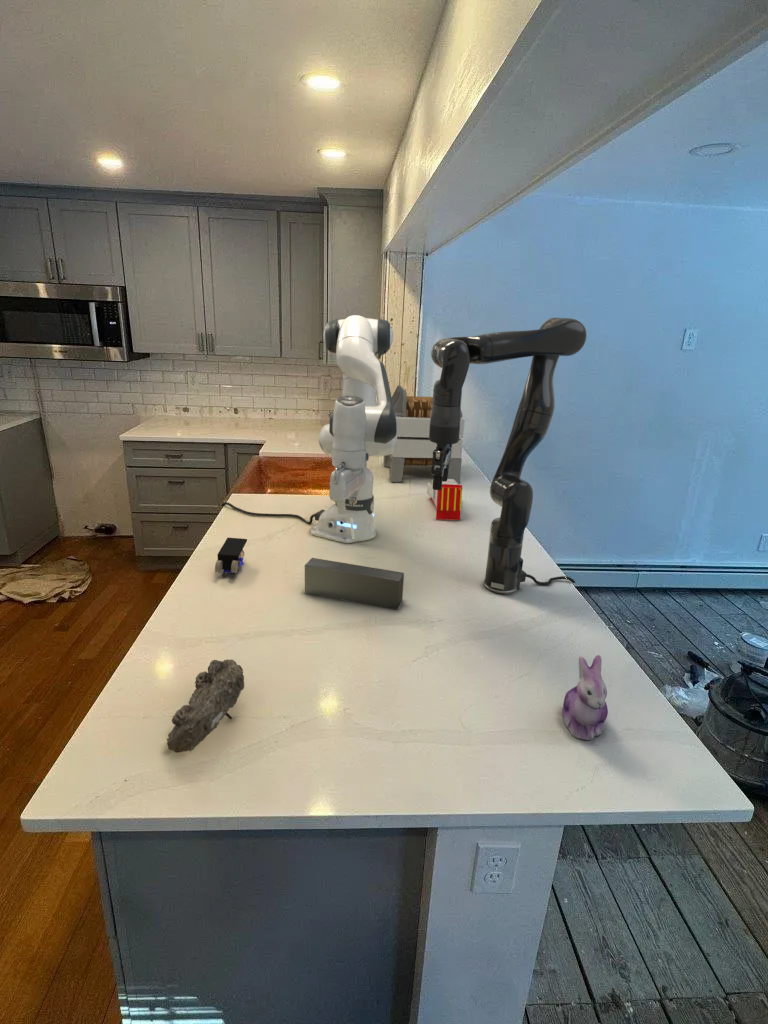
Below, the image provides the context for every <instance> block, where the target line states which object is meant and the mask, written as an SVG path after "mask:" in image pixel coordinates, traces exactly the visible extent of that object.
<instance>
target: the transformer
mask: <svg viewBox="0 0 768 1024" xmlns="http://www.w3.org/2000/svg"><path fill="white" fill-rule="evenodd" d="M407 394H408V393H407V390H406V389H404V388H403V387H402V385H399V384H398V385H397V386H396V388H395V390H394V392H393V394H392V395H391V397H392V402H393V407H394V410H395V414H396V417H397V421H398V430H397V434H396V435H397V445H396V448H395V450H394V451H393V452H392V453H391V454H390V455H385V456H383V466H384V467H388V468H389V475H388V476H389V477H388V478H389V480H390V482H391V483H402V482H403V475H404V469H405V466H406V467H407V466H411V467H412V466H413V467H415V466H416V467H417V466H418V467H431V466H432V461H433V451H434V449H436V447H437V444H436V443H433V442H431V441H430V440H429V430H430V415H431V409H432V404H433V403H432V401H433V396H415V395H414V396H413V395H412V396H411V395H407ZM464 429H465V419H464V418H463V411H461V422H460V433H459V441H458V443H456V444H452V454H451V463H450V466H449V467H448V479H454V480H455V481H456V482H457V483H458V484H459V483H461V472H462V461H463V460H462V453H463V442H464V441H463V440H462V439H463V438H464V431H465V430H464ZM436 469H437V470H440V468H438V467H437V468H436Z"/></svg>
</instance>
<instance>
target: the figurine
mask: <svg viewBox="0 0 768 1024" xmlns="http://www.w3.org/2000/svg"><path fill="white" fill-rule="evenodd" d="M602 663H603V660H602V656H601V655H600V654H597V655H595V657H594V658H593V660H592V663H591V664H590V665H589V664H588V662H587V660H586V659H585V658H584V657H583V656H578V674H579V680H578V682H577V685H576V686H574V687H572V688H571V689H569V690H568V691H567V692H566V693H565V696H564V699H563V703H562V704H563V706H562V710H561V714H562V715H561V716H562V721H563V724H564V725H565V727H566V728H567V729H568V730H569V732H570V734H571V735H572V736H573V737H574V738H577V739H581V740H584V741H585V740H587V741H589V740H590V741H591V740H593V739H594V737H599V736H600V735H601V734H602V732H603V729H604V726H605V725H604V724H605V722H606V721H607V718H608V714H609V711H608V710H609V709H608V705H607V701H606V700H607V696H608V690H607V686H606V683H605V680H604V679H603V677H602Z"/></svg>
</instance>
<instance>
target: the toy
mask: <svg viewBox="0 0 768 1024" xmlns="http://www.w3.org/2000/svg"><path fill="white" fill-rule="evenodd" d="M431 480H432V481H431V483H430V482H427V487H426V493H427V495H429V500H430V501H431V502H432V503H433V504H434V506H435V508H436V510H435V511H436V513H435V520H442V521H443V520H445V521H447V520H448V521H461V511H462V502H463V501H462V500H463V499H462V498H463V484H459V483H457V482H456V481H455V480H454V479H448V480H447V481H446V482H445V481H442V489H441V490H433V478H432V479H431Z"/></svg>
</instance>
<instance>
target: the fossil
mask: <svg viewBox="0 0 768 1024" xmlns="http://www.w3.org/2000/svg"><path fill="white" fill-rule="evenodd" d="M243 670H244V669H243V667H242V665H240V664H237V662H236V661H235V660H234V659H232V658H231V659H227V658H226V659H224V660H223V661H222V660H217V659H212V660H211V661H210V663H209V665H208V666H207V671H201V672H199V673H198V674H197V675H196V676H195V680H194V684H195V685H194V687H195V689H194V690H193V693H192V694H191V697H190V698H189V700H188V704H184V705H182V706H181V707H180V709H177V710H176V711H175V713H174V715H173V716H172V718H171V723H172V724H173V727H172V730H171V731H170V732H168V734H167V738H166V741H167V742H166V745H167V749H168V750H169V751H173V752H174V753H176V754H178V753H182V752H188V751H189V752H192V751H193V750H195V748H196V747H197V746H199V744H200V743H201V742H203V741H204V740H205V739H206V738H207V737H208V736H209V735H210V734H211V733H212V732H214V730H215V729H217V727H218V726H219V724H220V722H221V721H222V720H223V719H224V718H225V716H226V717H227V719H229V720H233V717H232V715H230V714H229V710H230V709H231V708H234V706H235V704H236V703H237V702H238V699H239V697H240V695H241V693H242V691H243V690H245V689H244V688H245V675H244V671H243Z"/></svg>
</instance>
